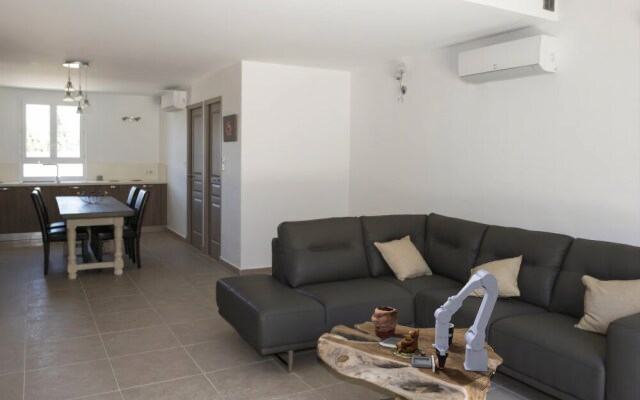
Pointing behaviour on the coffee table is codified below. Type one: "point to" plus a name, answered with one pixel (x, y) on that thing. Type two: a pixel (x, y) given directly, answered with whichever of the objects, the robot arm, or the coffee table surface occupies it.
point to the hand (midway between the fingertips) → (441, 365)
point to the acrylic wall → (433, 364)
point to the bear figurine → (408, 346)
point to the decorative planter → (385, 321)
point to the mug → (450, 333)
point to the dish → (421, 362)
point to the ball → (438, 364)
